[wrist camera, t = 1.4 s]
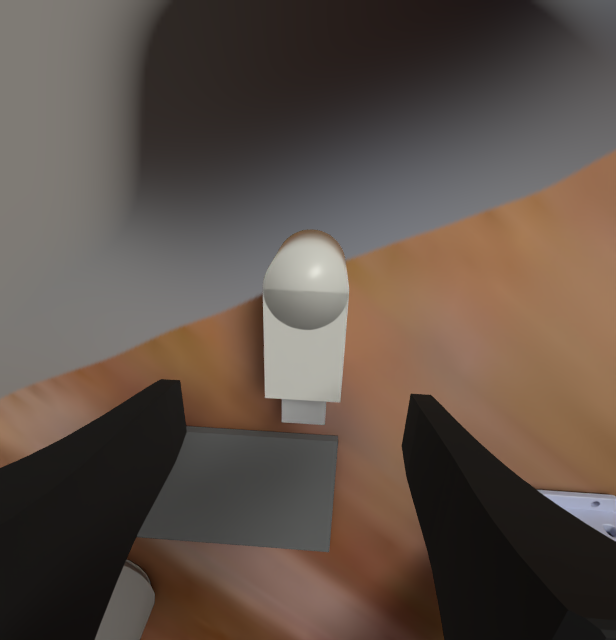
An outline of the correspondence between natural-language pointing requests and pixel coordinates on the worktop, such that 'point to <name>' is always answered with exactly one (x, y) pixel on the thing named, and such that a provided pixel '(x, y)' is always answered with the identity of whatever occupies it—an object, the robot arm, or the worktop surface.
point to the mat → (248, 490)
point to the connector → (305, 325)
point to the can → (128, 606)
